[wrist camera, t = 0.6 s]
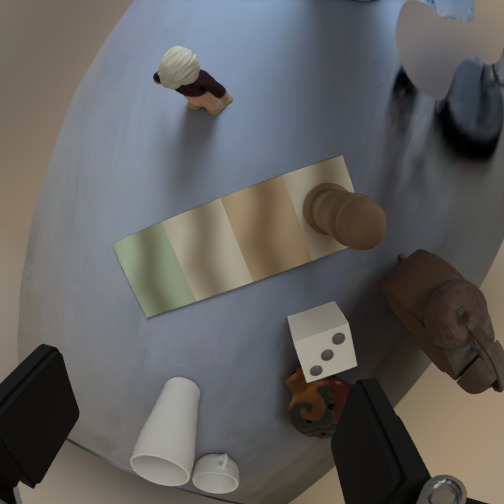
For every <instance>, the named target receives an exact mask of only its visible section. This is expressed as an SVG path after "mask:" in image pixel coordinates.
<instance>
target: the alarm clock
mask: <svg viewBox="0 0 504 504" xmlns="http://www.w3.org/2000/svg"><path fill="white" fill-rule="evenodd" d="M399 258H400V259H402V260H403V262H401V263H400V264H399V265H398V266H397V267H396V268H395V269H394V270H393V271H392V272H391V273H390V274H389V275H388V277H387V278H386V279H385V280H383V278H380V279H379V282H380V283H381V284H380V286H381V288H382V290H383V292H384V293H385V295H386V298H387V302H388V304H389V306H390V307H391V309H392V310H393V312H394V313H395V315H396V316H397V317H398V319H399V320H400V321H401V323H402V324H403V325H404V327H405V328H406V329H407V331H408V332H409V333H410V335H411V336H412V337H413V338H414V340H415V341H416V342H417V343H418V345H419V346H420V347H421V348H422V350H423V351H424V352H425V353H426V355H427V356H428V357H429V358H430V359H431V361H432V362H433V363H434V364H435V365H436V366H437V367H438V368H439V369H440V370H441V371H443V372H446V373H447V374H448V375H449V376H450V377H451V378H452V379H454V380H457V379H458V378H459V377H460V376H461V377H460V378H459V379H458V381H457V384H458V385H459V386H460V387H461V388H462V389H464V390H465V391H466V392H468V393H470V394H479V393H481V392H483V391H485V390H487V389H488V388H491V387H492V388H493V389H494V390H495V391H497V392H502V391H503V390H504V350H503V348H502V346H501V344H500V343H499V342H498V340H497V341H495V342H494V337H495V336H494V330H493V326H492V322H491V319H490V316H489V314H488V309H487V303H486V300H485V297H484V295H483V293H482V292H481V291H480V289H479V288H478V287H477V286H476V285H474V284H473V283H471V282H469V281H467V280H465V279H464V277H463V276H462V275H461V274H460V273H459V272H458V271H457V270H456V269H454V268H453V267H452V266H451V265H450V264H449V263H447V262H446V261H445V260H443V259H442V258H440V257H439V256H437V255H435V254H433V253H430V252H428V251H425V250H421V249H419V250H417V251H415V252H414V253H413V254H411V255H410V256H409V257H408V258H405V257H404V255H403V254H400V255H399Z"/></svg>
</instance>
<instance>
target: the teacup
mask: <svg viewBox="0 0 504 504" xmlns="http://www.w3.org/2000/svg"><path fill="white" fill-rule="evenodd" d="M192 481H193V484H194V485H195V486H196V487H197V488H199V489H201V490H203V491H206V492H209V493H217V494H222V493H229V492H232V491H234V490H235V489H236V488H237V487H238V485H239V471H238V467H237V465H236V464H235V462H234V461H233V460H232V459H231V458H229V457H228V455H227V454H223V455H221V454H209V455H205V456H203V457H202V458H200V459H199V460H198V462H197V464H196V466H195V469H194V472H193V476H192Z"/></svg>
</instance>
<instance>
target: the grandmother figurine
mask: <svg viewBox="0 0 504 504" xmlns="http://www.w3.org/2000/svg"><path fill="white" fill-rule="evenodd" d="M153 78H154V82H155V83H156V84H162V85H163V86H164V87H166V88H170V89H175V90H176V91H177V92H179V93H181V94H183V95H184V96H185V97H186V98H187V100H188V107H189V108H190V109H192V110H198V109H200V108H201V106H202V107H206V110H207V112H208V113H209V114H211V115H217V114H218V113H220V112H221V111H222V110H223V109H224V108H225V107H226V106H227V105H229V104H231V103H232V101H233V98H232V96H231V95H230V94H229V93H228V92H227V91H226V89H225V88H224V87H223V86H222V85H221V84H219V83H218V82H217V81H215V79H214V78H213V77H212V76H210V75H209V74H208V73H207V72H206V71H204V70H200V61H199V60H198V56H197V55H196V54H195V53H194V52H193V51H191V50H189V49H186V48H184V47H182V46H176V47H173V48H171V49H169V50H168V51H167V52H166V53H165V55H164V56H163V57H162V59H161V61H160V64H159V71H158V72H156V73H155V74H154V76H153Z"/></svg>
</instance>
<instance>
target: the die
mask: <svg viewBox="0 0 504 504" xmlns="http://www.w3.org/2000/svg"><path fill="white" fill-rule="evenodd" d="M287 318H288V322H289V326H290V330H291V334H292V338H293V342H294V345H295V348H296V351H297V354H298V357H299V361H300V364H301V367H302V370H303V373H304V376H305V379H306V382H307V383H308V382H312V381H315V380H318V379H321V378H324V377H327V376H330V375H333V374H336V373H339V372H342V371H345V370H347V369H350V368H353V367H356V366H357V362H356V357H355V352H354V347H353V342H352V337H351V332H350V328H349V323H348V321H347V320H346V318H345V317H344V315H343V313H342V312H341V310H340V309H339V307H338V305H337V304H336V302H335V301H332V302H329V303H326V304H324V305H321V306H318V307H315V308H312V309H309V310H306V311H303V312H300V313H296V314H293V315H290V316H287Z"/></svg>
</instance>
